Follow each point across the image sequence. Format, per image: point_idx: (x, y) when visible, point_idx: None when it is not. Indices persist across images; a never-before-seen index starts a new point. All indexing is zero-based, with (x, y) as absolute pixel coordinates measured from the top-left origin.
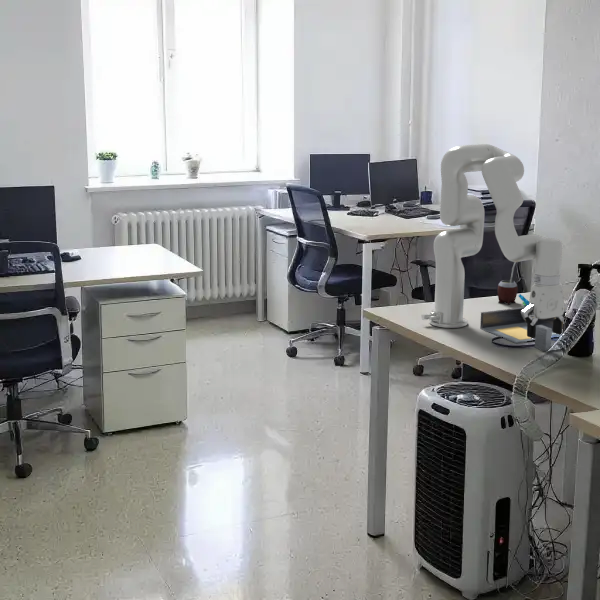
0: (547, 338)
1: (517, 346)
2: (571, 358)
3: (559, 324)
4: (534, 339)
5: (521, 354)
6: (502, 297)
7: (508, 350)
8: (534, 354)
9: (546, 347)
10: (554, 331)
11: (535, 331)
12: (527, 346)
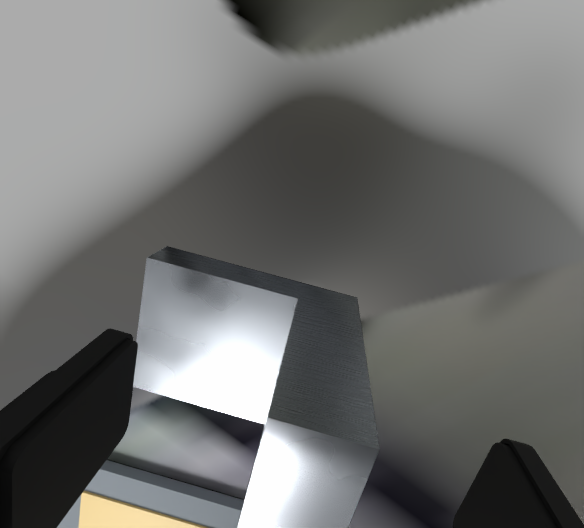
0: (345, 354)
1: (394, 497)
2: (349, 4)
3: (46, 431)
4: (186, 496)
5: (574, 379)
6: None
7: None
8: (494, 312)
9: (348, 309)
10: (122, 417)
11: (548, 517)
12: None
